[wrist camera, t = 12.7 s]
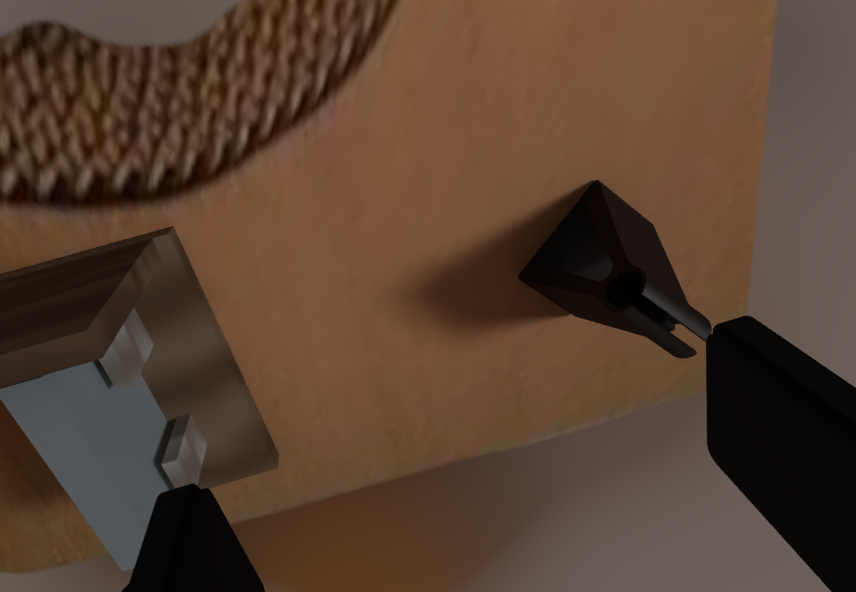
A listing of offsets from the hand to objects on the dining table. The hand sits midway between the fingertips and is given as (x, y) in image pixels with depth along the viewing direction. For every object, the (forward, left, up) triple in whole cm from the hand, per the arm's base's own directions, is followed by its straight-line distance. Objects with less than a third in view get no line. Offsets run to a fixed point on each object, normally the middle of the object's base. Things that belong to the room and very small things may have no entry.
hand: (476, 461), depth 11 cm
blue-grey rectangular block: (+12, -20, -29) cm, 37 cm away
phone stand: (+12, +14, -31) cm, 36 cm away
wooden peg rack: (+12, -20, -30) cm, 38 cm away
